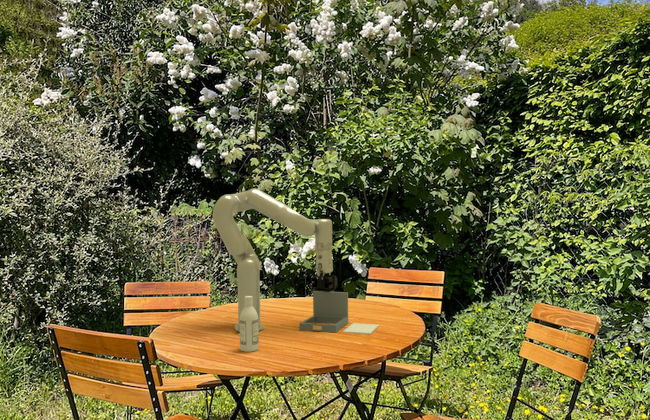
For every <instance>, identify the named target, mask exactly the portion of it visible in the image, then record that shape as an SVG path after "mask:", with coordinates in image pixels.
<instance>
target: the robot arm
mask: <svg viewBox="0 0 650 420" xmlns="http://www.w3.org/2000/svg"><path fill="white" fill-rule="evenodd" d="M249 210H255V211H257V212H258V213H260V214H262V215H264V216H266V217H268V218H270V219H271V220H273V221H275V222H277V223H279V224H280V225H283V226H285V227H287V228H288V229H290V230H292V231H294V232H295V233H297V234H299V235H301V236H302V237H306V238H309V237H311V236H313V235H314V251H316V257H315V272H316V274H317V288H318V289H324V288H325V279H324V275H331V273H332V272H333V270H334V268H333V267H334V266H333V265H334V264H333V252H332V251H333V221H332V220H331V219H329V218H318V219H314V218H313V219H310V218H307V217H306V216H304V215H302V214H300V213H299V212H298V211H296V210H293V209H292V208H290V207H289V206H288V205H287V204H285V203H284V202H282V201H280V200H278V199H276V198H274V196H271V195H269V194H267V193H266V192H265V191H262V190H261V189H258V188H256V187H255V188H250V189H248V190H246V191H242V192H238V193H231V194H230V193H229V194H224V195H221V196H220V197H219V198H218V200H217V201H216V202H215V204H214V206H213V210H212V220H213V223H214V226H215V228H216V230H217V232H218V234H219V236H220V239H221V240H222V242H223V244H224V246H225V248H226V251H227V253H228V254H229V255H230V256H232V257H233V259H234V261H235V263H236V264H237V266H236V276H237V277H236V280H237V313H238V314H237V315H238V317H237V318H238V319H237V320H238V321H237V324H235V325H234V331H236V332H239V333H240V314H241V312H242V310H243V308H244V307H245V296H252V297H253V305H252V306H253V307H254V309H255V310H256V312H257V314H258V332H260V331H263V330H264V329H265V326H264V324H262V323H261V290H260V289H261V283H260V275H261V274H260V272H261V271H260V269H261V262H260V260H259V257H258V255H257V253H256V252H255V250H254V249H253V246H252V245H251V242H250V240H249V239H248V237H247V236H246V235H244V234H243V233H242V232H241V229H239V225H238V224H237V222H236V220H235V217H234V214H235V213H240V212H243V211H244V212H245V211H249Z"/></svg>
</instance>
